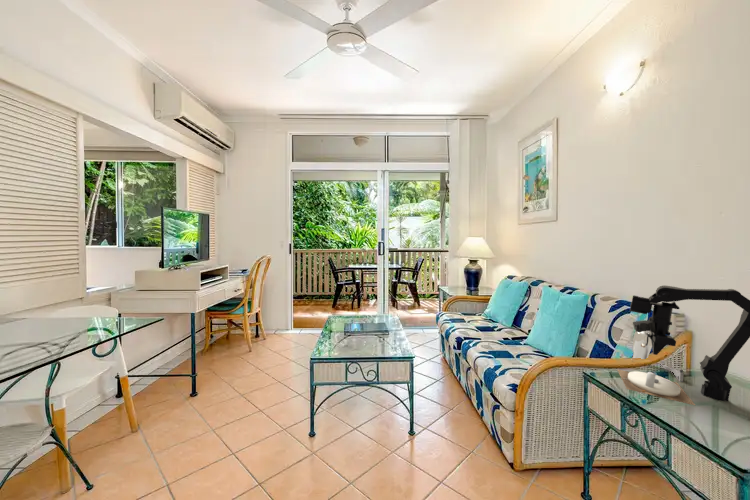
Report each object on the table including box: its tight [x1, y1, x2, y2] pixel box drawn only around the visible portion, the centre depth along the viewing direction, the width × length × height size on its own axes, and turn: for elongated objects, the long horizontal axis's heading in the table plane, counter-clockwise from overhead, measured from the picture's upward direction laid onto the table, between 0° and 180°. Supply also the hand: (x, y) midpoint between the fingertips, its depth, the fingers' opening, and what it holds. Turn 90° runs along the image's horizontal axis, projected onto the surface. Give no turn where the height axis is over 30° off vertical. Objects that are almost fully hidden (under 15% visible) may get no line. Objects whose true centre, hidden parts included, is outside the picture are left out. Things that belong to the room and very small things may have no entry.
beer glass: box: [632, 330, 652, 359], centre depth 155 cm, size 7×7×15 cm
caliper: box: [662, 364, 684, 383], centre depth 146 cm, size 20×1×6 cm, turn 156°
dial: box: [628, 371, 682, 396], centre depth 131 cm, size 16×16×7 cm
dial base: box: [617, 369, 696, 406], centre depth 132 cm, size 20×19×2 cm
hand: (654, 354), depth 136 cm, fingers closed
